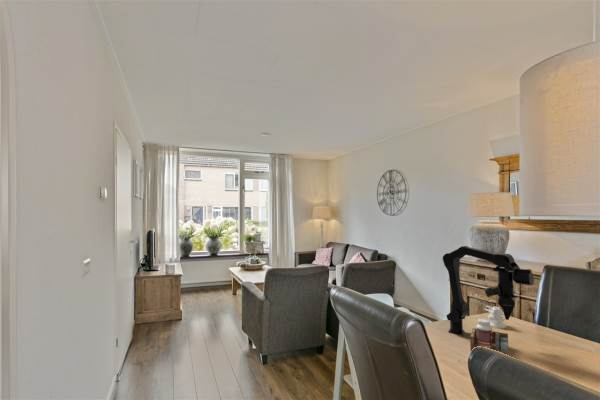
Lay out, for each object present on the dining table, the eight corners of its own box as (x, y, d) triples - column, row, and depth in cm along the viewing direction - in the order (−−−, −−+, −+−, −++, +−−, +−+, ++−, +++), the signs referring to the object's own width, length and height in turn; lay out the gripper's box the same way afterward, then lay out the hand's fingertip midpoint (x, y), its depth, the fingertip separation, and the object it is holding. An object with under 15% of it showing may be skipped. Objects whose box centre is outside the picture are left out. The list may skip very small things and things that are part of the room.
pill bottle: (495, 349, 141) (494, 323, 142) (479, 348, 143) (478, 322, 143) (490, 343, 147) (489, 318, 148) (475, 342, 149) (474, 317, 149)
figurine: (512, 326, 174) (511, 306, 174) (504, 330, 168) (503, 309, 169) (488, 320, 183) (488, 301, 184) (480, 324, 178) (480, 304, 179)
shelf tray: (472, 340, 155) (472, 327, 155) (508, 346, 147) (507, 332, 148) (470, 350, 144) (470, 335, 144) (508, 357, 136) (508, 342, 137)
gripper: (486, 277, 161) (487, 309, 160) (484, 283, 145) (485, 319, 145) (513, 279, 155) (514, 312, 155) (514, 286, 139) (515, 323, 139)
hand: (506, 316), depth 148 cm, fingers open, 9 cm apart
